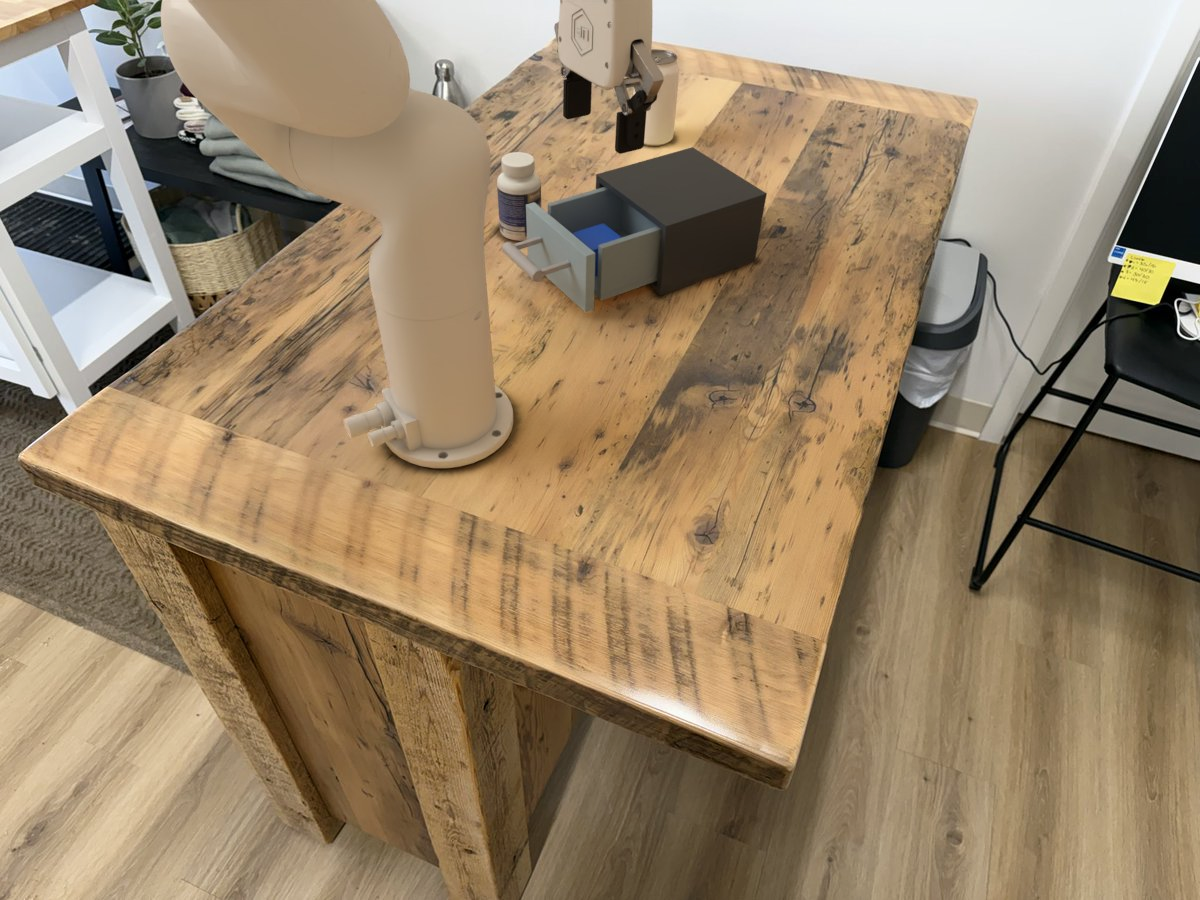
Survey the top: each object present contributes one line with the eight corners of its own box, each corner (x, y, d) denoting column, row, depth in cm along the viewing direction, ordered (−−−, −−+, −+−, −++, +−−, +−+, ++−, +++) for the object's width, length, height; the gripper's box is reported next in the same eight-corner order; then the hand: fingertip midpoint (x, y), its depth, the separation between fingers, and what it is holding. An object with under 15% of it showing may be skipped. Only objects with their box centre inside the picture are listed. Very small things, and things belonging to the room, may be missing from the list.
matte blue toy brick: (592, 277, 97) (592, 250, 94) (571, 259, 100) (572, 232, 97) (623, 266, 99) (624, 239, 96) (602, 249, 101) (603, 222, 99)
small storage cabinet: (660, 296, 98) (666, 226, 92) (594, 241, 106) (595, 174, 100) (754, 261, 104) (766, 193, 98) (685, 212, 112) (692, 146, 106)
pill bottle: (536, 244, 106) (533, 171, 99) (494, 239, 106) (489, 166, 99) (546, 223, 109) (545, 151, 103) (506, 218, 110) (502, 146, 103)
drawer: (547, 326, 92) (546, 269, 87) (491, 271, 99) (487, 215, 94) (681, 278, 99) (687, 222, 94) (619, 230, 107) (622, 176, 102)
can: (680, 135, 129) (688, 54, 121) (660, 150, 125) (666, 68, 117) (644, 125, 132) (649, 44, 123) (623, 139, 128) (627, 57, 119)
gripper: (526, -72, 79) (529, 110, 91) (631, -27, 69) (619, 172, 81) (592, -79, 82) (587, 98, 94) (702, -36, 72) (681, 156, 84)
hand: (602, 132), depth 87 cm, fingers open, 9 cm apart
